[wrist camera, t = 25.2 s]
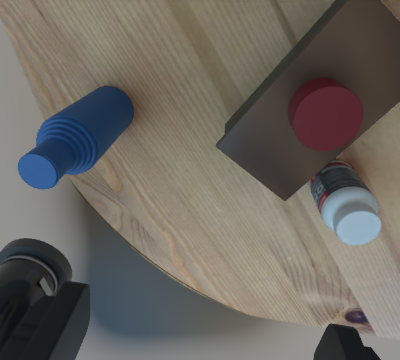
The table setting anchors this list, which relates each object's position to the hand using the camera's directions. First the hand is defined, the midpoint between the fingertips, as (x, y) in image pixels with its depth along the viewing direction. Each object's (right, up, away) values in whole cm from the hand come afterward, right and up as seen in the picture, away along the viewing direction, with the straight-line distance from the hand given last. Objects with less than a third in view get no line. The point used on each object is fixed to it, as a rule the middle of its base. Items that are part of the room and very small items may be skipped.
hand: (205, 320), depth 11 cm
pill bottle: (+15, +5, +28) cm, 32 cm away
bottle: (-10, +13, +26) cm, 31 cm away
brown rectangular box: (+11, +14, +24) cm, 29 cm away
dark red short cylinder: (+10, +11, +18) cm, 23 cm away
